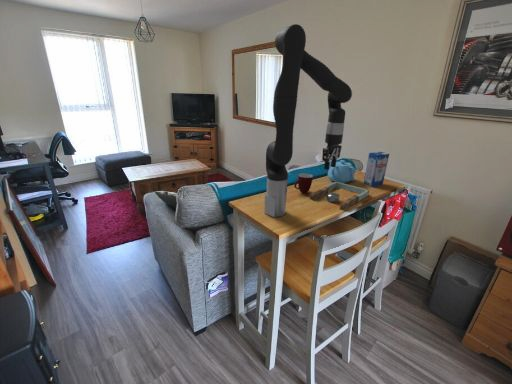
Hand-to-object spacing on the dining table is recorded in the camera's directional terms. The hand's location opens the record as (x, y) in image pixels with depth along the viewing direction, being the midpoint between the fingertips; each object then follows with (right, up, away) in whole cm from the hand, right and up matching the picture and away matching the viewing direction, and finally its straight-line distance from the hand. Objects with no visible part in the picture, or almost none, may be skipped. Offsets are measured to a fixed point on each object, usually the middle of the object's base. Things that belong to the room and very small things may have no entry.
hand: (329, 168), depth 122 cm
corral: (+16, -12, +23) cm, 30 cm away
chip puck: (+5, -16, +13) cm, 21 cm away
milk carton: (+39, -7, +39) cm, 55 cm away
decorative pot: (+19, -4, +44) cm, 48 cm away
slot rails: (+6, -16, +13) cm, 22 cm away
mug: (-9, -12, +23) cm, 27 cm away
